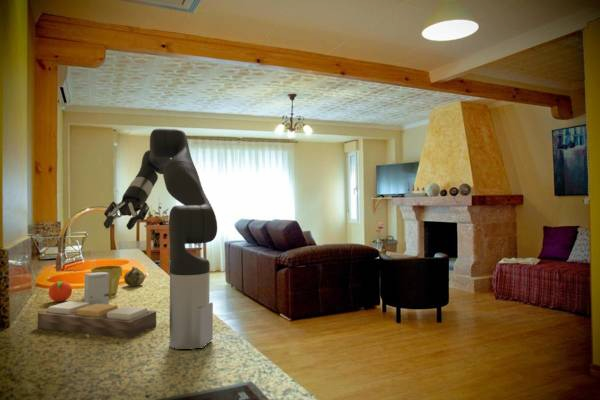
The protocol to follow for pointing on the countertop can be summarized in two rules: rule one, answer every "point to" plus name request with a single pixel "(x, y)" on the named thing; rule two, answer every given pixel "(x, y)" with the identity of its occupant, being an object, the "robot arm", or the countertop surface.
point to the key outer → (67, 307)
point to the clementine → (60, 291)
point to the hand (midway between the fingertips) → (117, 227)
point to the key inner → (127, 313)
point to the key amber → (96, 310)
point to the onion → (134, 277)
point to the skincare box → (96, 288)
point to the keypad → (96, 324)
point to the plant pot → (110, 276)
